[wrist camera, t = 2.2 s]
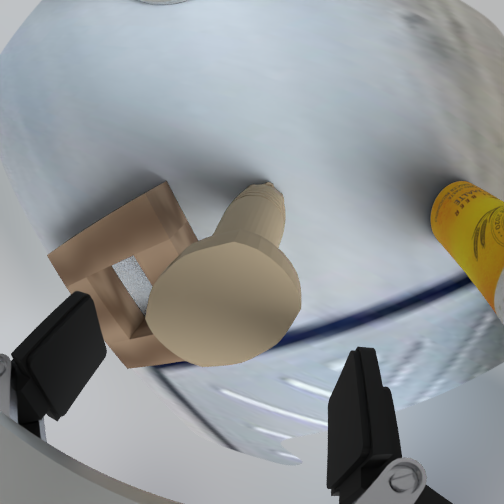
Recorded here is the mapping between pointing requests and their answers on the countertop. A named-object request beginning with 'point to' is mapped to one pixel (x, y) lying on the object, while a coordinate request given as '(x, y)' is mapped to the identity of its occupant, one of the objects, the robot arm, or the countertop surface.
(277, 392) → the countertop surface
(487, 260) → the beer can
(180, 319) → the tan flared peg
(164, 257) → the keyed socket block
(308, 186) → the countertop surface
